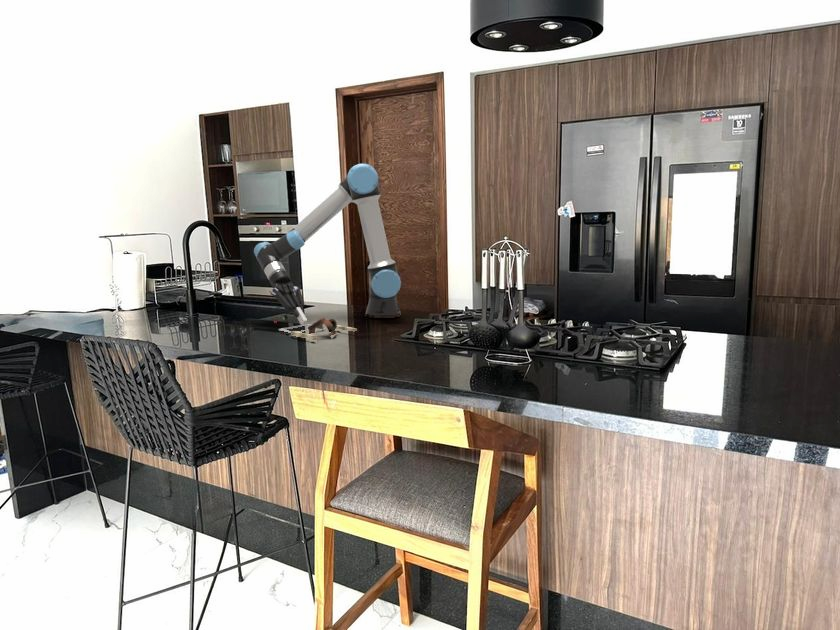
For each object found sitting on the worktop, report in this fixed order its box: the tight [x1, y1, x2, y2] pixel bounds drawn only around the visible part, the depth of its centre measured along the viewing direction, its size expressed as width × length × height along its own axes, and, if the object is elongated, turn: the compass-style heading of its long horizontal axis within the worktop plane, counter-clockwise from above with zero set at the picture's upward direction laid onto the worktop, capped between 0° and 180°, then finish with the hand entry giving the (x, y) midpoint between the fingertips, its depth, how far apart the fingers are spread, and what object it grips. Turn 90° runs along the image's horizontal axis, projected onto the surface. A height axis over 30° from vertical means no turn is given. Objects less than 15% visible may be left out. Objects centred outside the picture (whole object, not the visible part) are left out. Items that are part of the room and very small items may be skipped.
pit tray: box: [277, 323, 325, 333], centre depth 236 cm, size 10×14×2 cm
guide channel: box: [290, 324, 358, 341], centre depth 226 cm, size 14×19×2 cm
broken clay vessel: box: [308, 317, 338, 337], centre depth 226 cm, size 12×10×8 cm
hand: (304, 322), depth 234 cm, fingers closed
